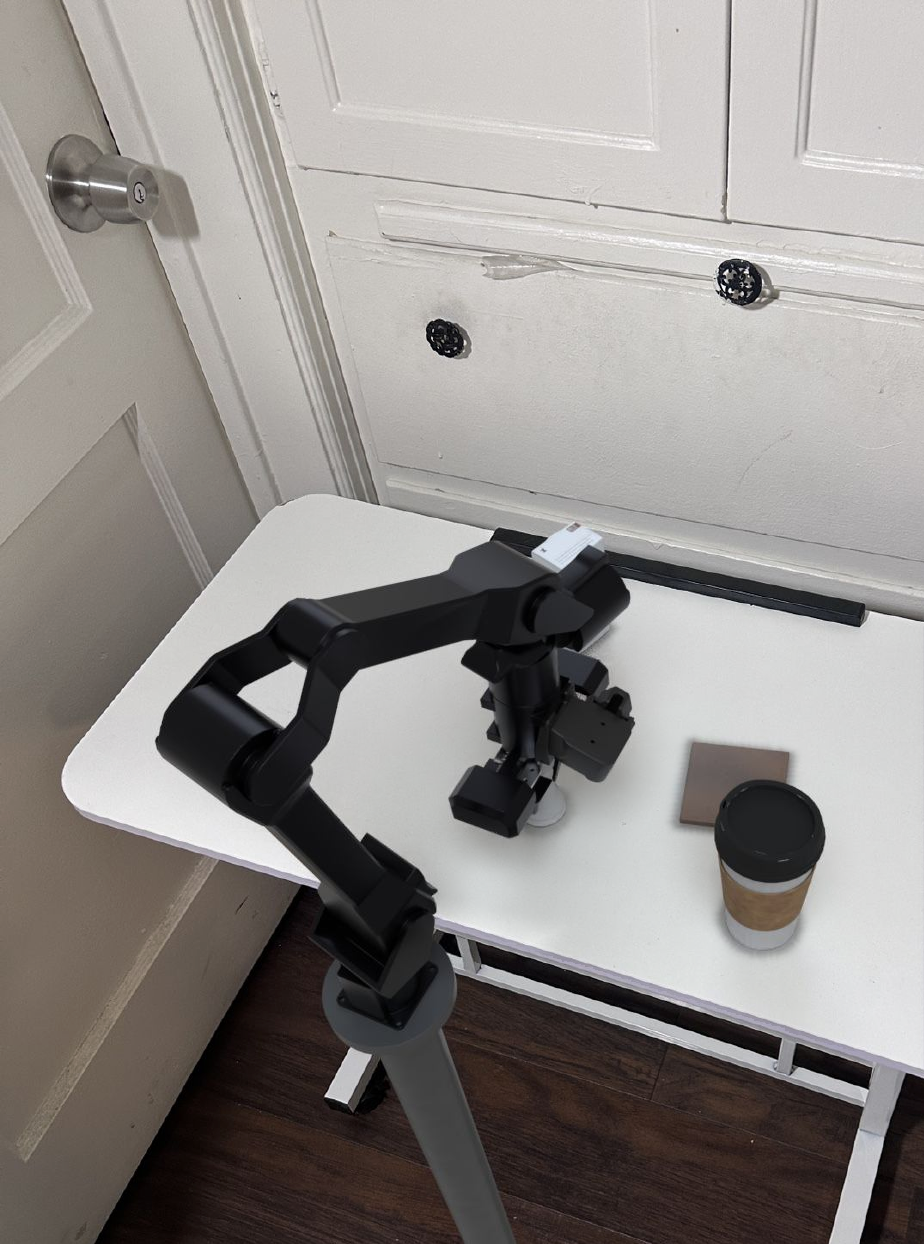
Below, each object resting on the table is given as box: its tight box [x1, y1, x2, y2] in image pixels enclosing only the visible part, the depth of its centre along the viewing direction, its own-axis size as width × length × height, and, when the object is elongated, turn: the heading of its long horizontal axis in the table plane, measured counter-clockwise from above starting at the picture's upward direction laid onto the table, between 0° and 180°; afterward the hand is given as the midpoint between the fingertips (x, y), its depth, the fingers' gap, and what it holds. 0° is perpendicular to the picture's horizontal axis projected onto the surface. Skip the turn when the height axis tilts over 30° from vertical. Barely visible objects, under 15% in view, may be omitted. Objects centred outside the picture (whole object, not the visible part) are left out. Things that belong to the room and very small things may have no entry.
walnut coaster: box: [679, 741, 790, 828], centre depth 112 cm, size 9×9×1 cm
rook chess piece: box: [526, 759, 568, 827], centre depth 108 cm, size 4×4×8 cm
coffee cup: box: [713, 779, 827, 951], centre depth 97 cm, size 8×8×15 cm
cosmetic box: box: [530, 520, 611, 654], centre depth 120 cm, size 6×4×12 cm
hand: (540, 796), depth 110 cm, fingers closed on rook chess piece, 3 cm apart
